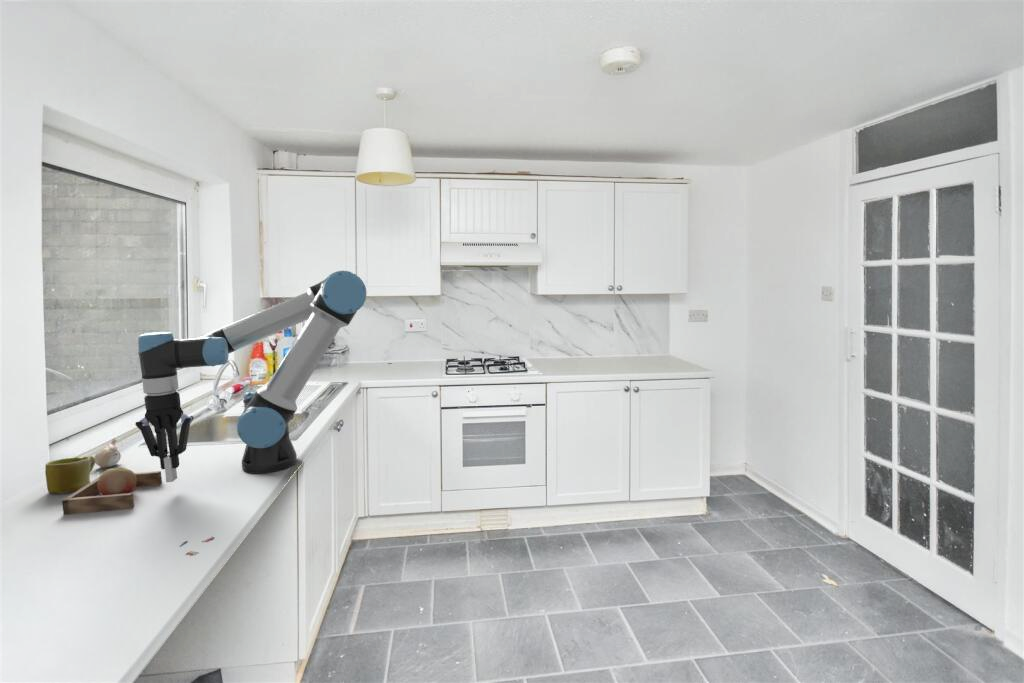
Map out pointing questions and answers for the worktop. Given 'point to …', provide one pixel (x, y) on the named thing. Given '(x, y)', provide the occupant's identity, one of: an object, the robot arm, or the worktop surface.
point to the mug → (68, 474)
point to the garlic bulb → (108, 455)
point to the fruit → (117, 481)
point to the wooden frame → (106, 496)
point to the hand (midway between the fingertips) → (171, 480)
